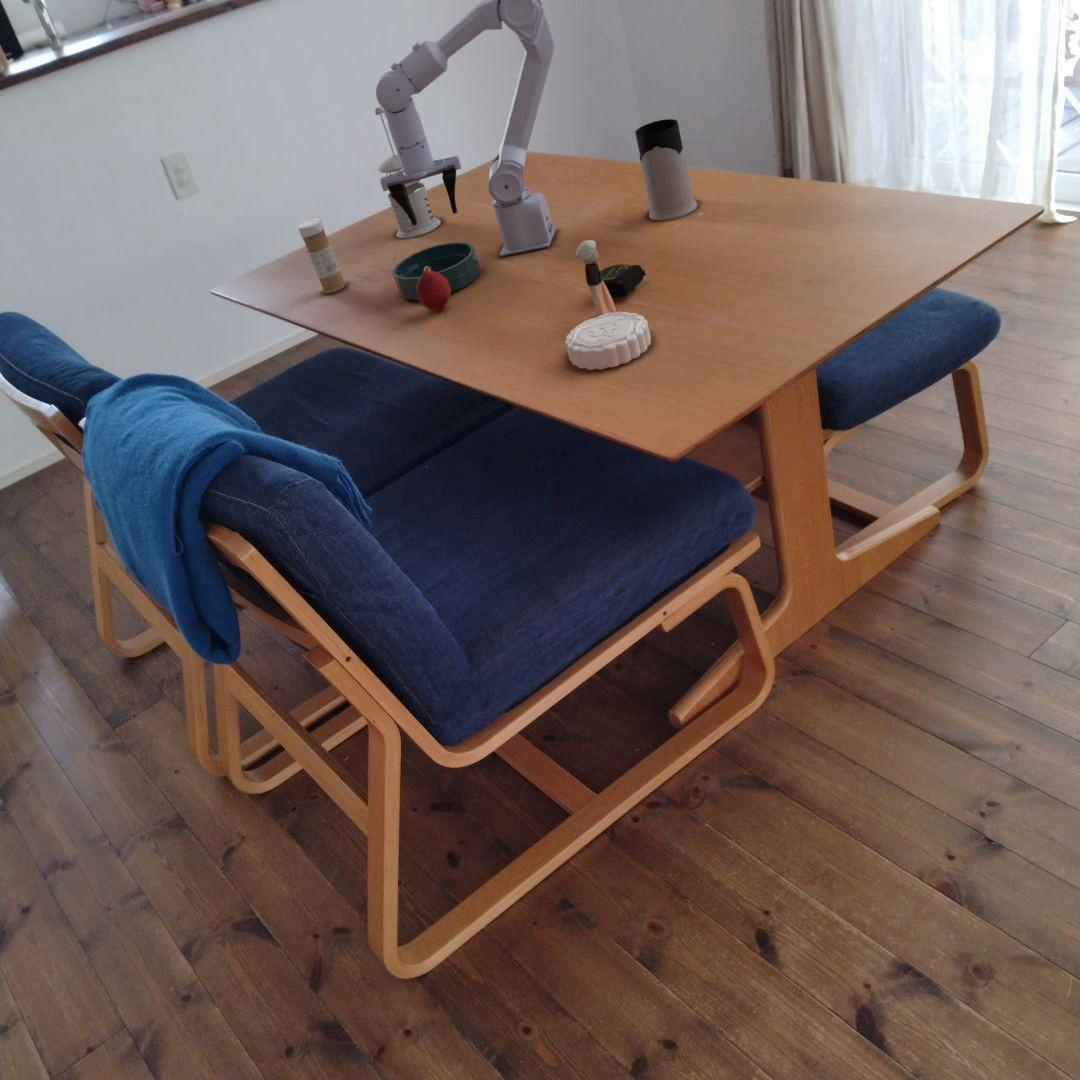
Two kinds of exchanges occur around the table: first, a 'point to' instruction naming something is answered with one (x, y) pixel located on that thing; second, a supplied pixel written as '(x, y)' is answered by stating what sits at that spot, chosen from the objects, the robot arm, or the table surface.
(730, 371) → the table surface
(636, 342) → the mooncake
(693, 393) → the table surface
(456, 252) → the bowl
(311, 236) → the sprinkles bottle
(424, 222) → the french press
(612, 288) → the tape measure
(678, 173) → the glass holder
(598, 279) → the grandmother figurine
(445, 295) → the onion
